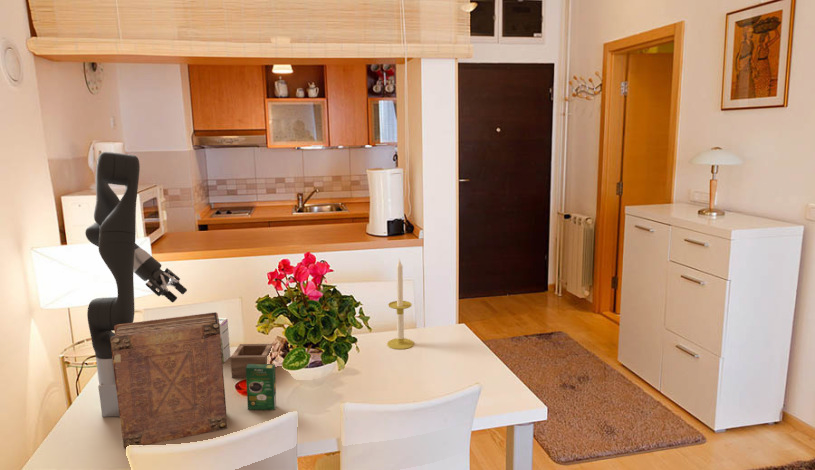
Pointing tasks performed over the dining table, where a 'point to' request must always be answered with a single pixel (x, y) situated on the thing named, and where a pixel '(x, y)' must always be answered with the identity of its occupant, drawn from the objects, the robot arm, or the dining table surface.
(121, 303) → the robot arm
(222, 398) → the book
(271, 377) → the coffee box
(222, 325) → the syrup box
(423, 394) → the dining table surface
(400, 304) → the candle
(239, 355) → the walnut socket
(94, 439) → the dining table surface
